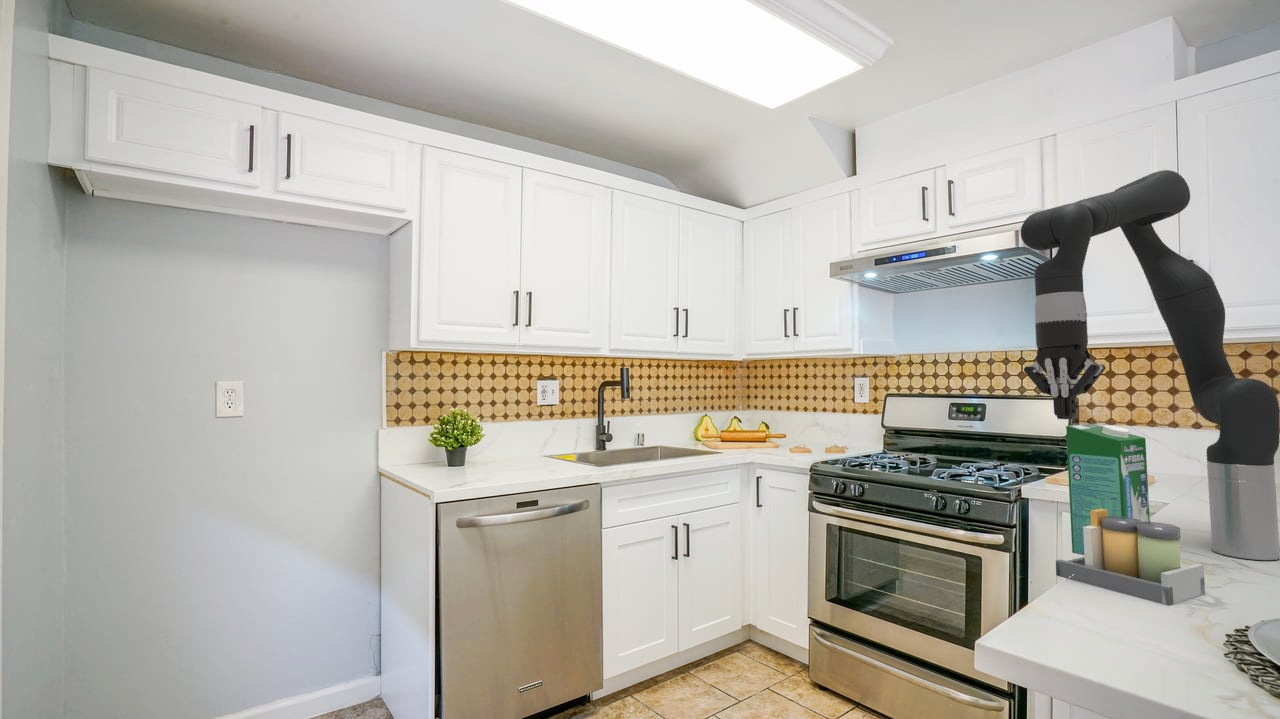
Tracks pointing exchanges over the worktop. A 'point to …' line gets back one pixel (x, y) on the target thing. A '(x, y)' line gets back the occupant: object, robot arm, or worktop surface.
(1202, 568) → the grey tray
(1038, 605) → the worktop surface
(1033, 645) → the worktop surface
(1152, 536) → the green jar
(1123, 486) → the milk carton
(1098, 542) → the block
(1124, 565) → the amber jar
